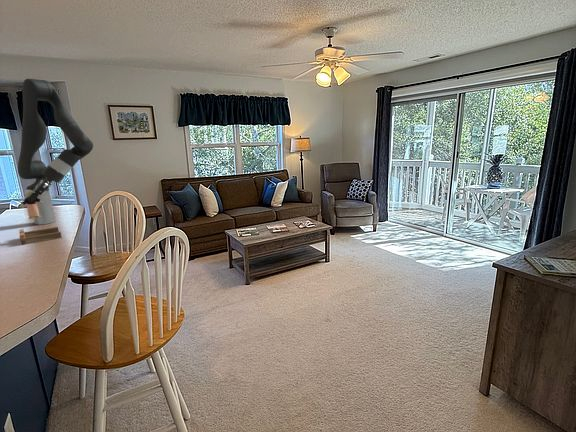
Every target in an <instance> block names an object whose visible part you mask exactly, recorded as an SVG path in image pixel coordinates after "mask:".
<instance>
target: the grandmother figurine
mask: <svg viewBox="0 0 576 432" xmlns="http://www.w3.org/2000/svg"><path fill="white" fill-rule="evenodd" d="M32 193H33V191H32V190H27V189H26V190H25V191H24V193H23V194H24V195H25V196H26V198H24V200H23V201H22V204H21V208H22V209H24V208H25V206H26V205H27V207H26V208H27V214H28V219H29V220H34V219H33V218H34V217H41V216H40V215H39V211H38V207H37V204H36V202H39V203H40V204H42V202H41V200H40V199H39V198H36V199H35V200H34V201H33V202H30V201H28V200H27V199H28V198H29V196H30V195H31V194H32ZM27 197H28V198H27Z"/></svg>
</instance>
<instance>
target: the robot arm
mask: <svg viewBox="0 0 576 432" xmlns="http://www.w3.org/2000/svg"><path fill="white" fill-rule="evenodd" d="M21 92H22V107H23V108H22V110H23V111H22V112H23V113H22V125H21V141H20V143H21V144H20V150H19V151H20V153H19V158H18V162H17V174H18V176H19V177H20V178H21V179H23V180H34V179H35V181H33V183H31V184H30V185H28V186H26V190H32V191H33V193H32V194H31V195H30V196H29V198H28V197H27V196H26V198H28V199H27V200H28V201H30V202H33V201H34V200H35V199H36V198H39V199H40V200H41V202H42V204H40V203H39V202H36V204H37V207H38V211H39V215H40V216H41V217H34V218H33V219H32V220H33V223H34V225H48V224H52V223H55V222H56V221H57V220H56V216H55V211H54V206H53V202H52V197H51V192H50V187H51V186H52V184H51V183H53V182H55V183H56V184H59V183H60V182H61V181H62V180H63V179H64V178H65V177H66V176H67V175H68V174H69V172H70V171H71V170H72V168H74V166H75V165H76V164H77V163H78V162H79V161H81V160H82V159H84V158H85V157H86V156H87V155H89V154H90V153H91V152H92V151H93V148H94V143H93V141H92V140H91V139H90V138H89V137H88V136H87V135H86V134H85V132H84V131H83V130H82V129H81V128H80V125H79V124H78V123H77V121H76V120H75V119H74V117H72V115H71V114H70V113H69V110H68V109H67V108H66V105H65V104H64V102H63V101H62V99H61V97H60V95H59V93H58V91H57V89H56V88H55V87H54V85H53V84H52V83H51V82H50V81H48V80H43V79H36V78H26V79H25V80H23V83H22V91H21ZM39 101H41V102H42V101H43V102H48V103H49V104H50V105H51V107H53V117H54V121H55V123H56V125H57V126H58V127H59V128H60V130H61V131H62V132H63V133H64V134H65V136H66V138H67V139H68V140H69V142H70V143H71V144H72V145H73V147H72V148H70V149H64V150H63V151H62V152H60V153H59V154H58V155H57V157H55V158H54V159H53V160H52V161H51V162H50V163H49V164H48V165H47V166H46V164H45V163H44V161H42V160H33V158H34V156H35V154H36V153H37V152H38V150H39V149H40V148H41V147H42V146H43V145H44V144H45V142H46V139H47V125H46V124H45V122H44V120H43V118H42V117H41V115H40V114H39V111H38V102H39Z"/></svg>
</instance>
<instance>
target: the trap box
mask: <svg viewBox="0 0 576 432" xmlns="http://www.w3.org/2000/svg"><path fill="white" fill-rule="evenodd" d="M18 230H19V233H18V235H19V240H20V244H21V245H22V246H24V245H29V244H34V243H40V242H45V241H51V240H56V239H61V238H62V237H63V236H62V233H61V231H59V227H58V226H56V227H55V226H54V227H49V228H41V229H36V230H30V231H25V230H24V229H23V228H22V229H18Z"/></svg>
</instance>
